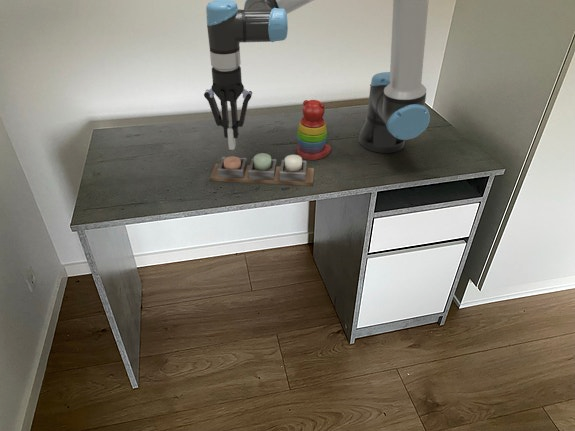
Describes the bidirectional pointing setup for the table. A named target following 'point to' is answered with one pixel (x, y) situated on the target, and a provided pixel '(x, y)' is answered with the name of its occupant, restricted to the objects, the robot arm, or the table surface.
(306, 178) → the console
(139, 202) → the table surface
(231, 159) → the terracotta button
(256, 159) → the sage button
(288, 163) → the ivory button
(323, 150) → the stacking bear
